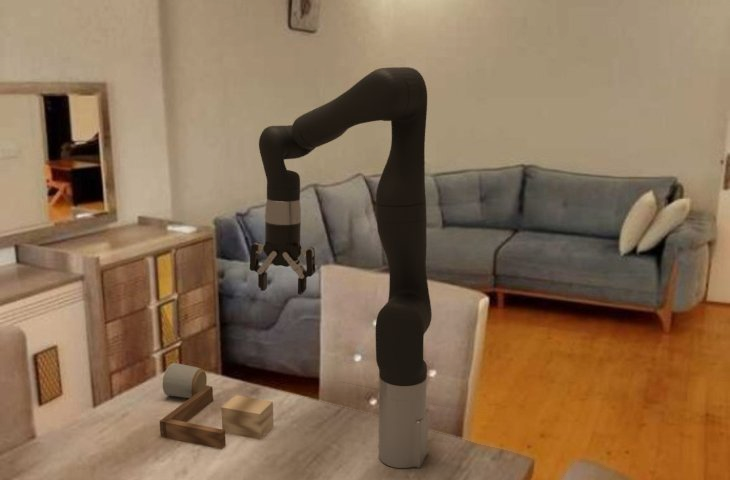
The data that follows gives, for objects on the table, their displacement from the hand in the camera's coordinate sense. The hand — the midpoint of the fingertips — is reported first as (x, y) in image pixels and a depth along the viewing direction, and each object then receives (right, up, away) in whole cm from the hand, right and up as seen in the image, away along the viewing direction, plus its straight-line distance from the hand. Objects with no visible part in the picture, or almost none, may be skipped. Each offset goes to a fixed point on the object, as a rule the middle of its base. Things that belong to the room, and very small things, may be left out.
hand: (282, 291), depth 153 cm
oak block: (-7, -29, -4) cm, 30 cm away
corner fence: (-14, -28, -1) cm, 32 cm away
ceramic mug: (-24, -25, +13) cm, 37 cm away
